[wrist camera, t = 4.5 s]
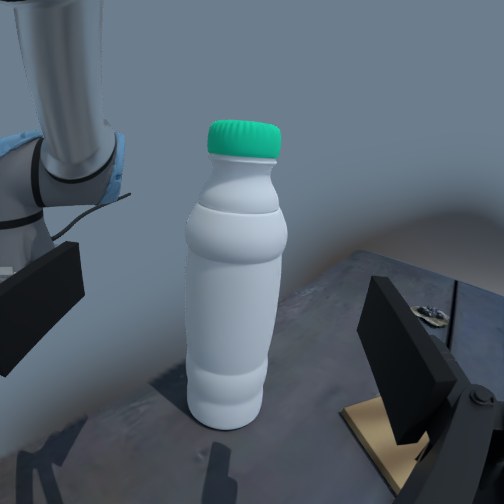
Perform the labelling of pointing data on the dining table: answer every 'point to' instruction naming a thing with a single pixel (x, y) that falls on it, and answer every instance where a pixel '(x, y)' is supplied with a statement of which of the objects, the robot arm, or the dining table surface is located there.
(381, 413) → the gold metal sheet
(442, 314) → the geode
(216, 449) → the dining table surface
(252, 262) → the water bottle
